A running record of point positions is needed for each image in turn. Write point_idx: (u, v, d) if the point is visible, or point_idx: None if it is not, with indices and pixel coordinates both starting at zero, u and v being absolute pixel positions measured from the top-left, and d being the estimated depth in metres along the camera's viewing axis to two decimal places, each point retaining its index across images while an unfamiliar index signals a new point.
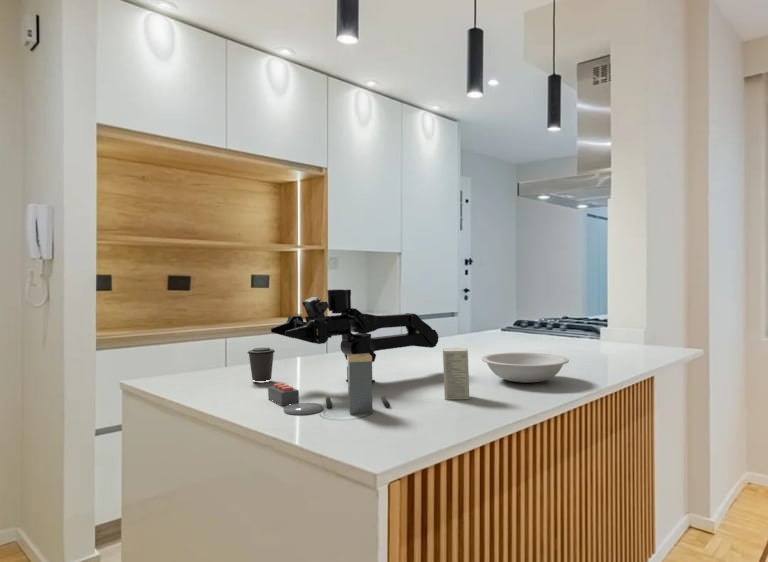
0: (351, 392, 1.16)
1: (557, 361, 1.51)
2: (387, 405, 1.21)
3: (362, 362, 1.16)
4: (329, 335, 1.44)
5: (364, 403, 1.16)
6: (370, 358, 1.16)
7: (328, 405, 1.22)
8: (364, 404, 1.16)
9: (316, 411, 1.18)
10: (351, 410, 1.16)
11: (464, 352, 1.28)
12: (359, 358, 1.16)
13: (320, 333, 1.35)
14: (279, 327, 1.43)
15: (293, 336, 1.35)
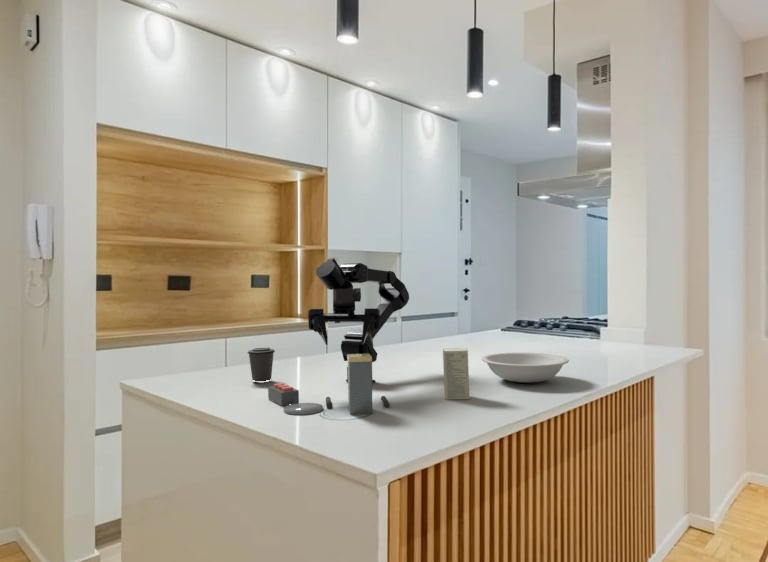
0: (351, 392, 1.16)
1: (557, 361, 1.51)
2: (387, 405, 1.21)
3: (362, 362, 1.16)
4: None
5: (364, 403, 1.16)
6: (370, 358, 1.16)
7: (328, 405, 1.22)
8: (364, 404, 1.16)
9: (316, 411, 1.18)
10: (351, 410, 1.16)
11: (464, 352, 1.28)
12: (359, 358, 1.16)
13: (379, 321, 1.39)
14: (326, 335, 1.33)
15: (365, 339, 1.35)
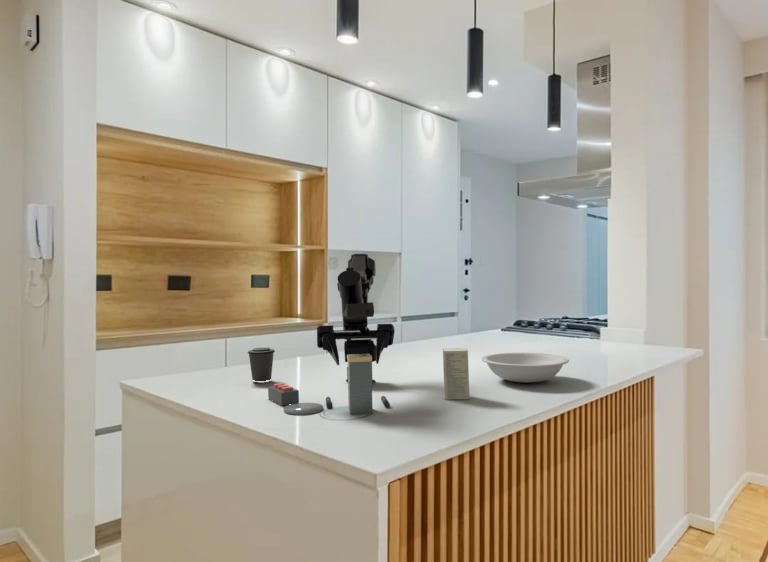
0: (351, 392, 1.16)
1: (557, 361, 1.51)
2: (387, 405, 1.21)
3: (362, 362, 1.16)
4: None
5: (364, 403, 1.16)
6: (370, 358, 1.16)
7: (328, 405, 1.22)
8: (364, 404, 1.16)
9: (316, 411, 1.18)
10: (351, 410, 1.16)
11: (464, 352, 1.28)
12: (359, 358, 1.16)
13: None
14: None
15: (379, 358, 1.25)
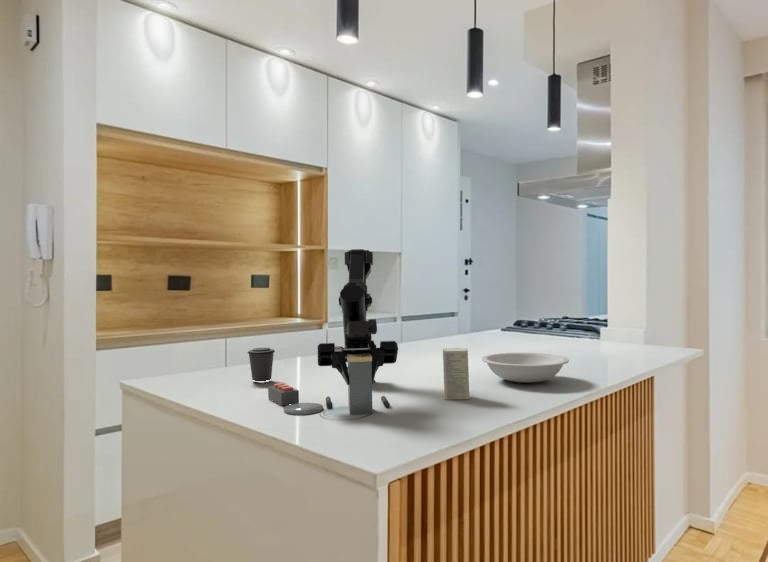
0: (351, 392, 1.16)
1: (557, 361, 1.51)
2: (387, 405, 1.21)
3: (362, 362, 1.16)
4: None
5: (364, 403, 1.16)
6: (370, 358, 1.16)
7: (328, 405, 1.22)
8: (364, 404, 1.16)
9: (316, 411, 1.18)
10: (351, 410, 1.16)
11: (464, 352, 1.28)
12: (359, 358, 1.16)
13: (396, 355, 1.24)
14: None
15: (374, 377, 1.20)
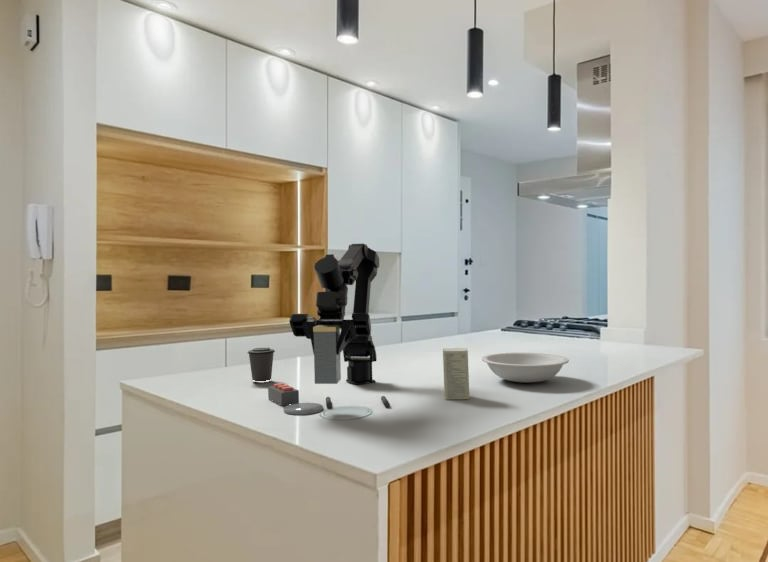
0: (315, 361, 1.17)
1: (557, 361, 1.51)
2: (387, 405, 1.21)
3: (326, 332, 1.17)
4: None
5: (328, 373, 1.17)
6: (334, 328, 1.16)
7: (328, 405, 1.22)
8: (329, 374, 1.17)
9: (316, 411, 1.18)
10: (316, 379, 1.17)
11: (464, 352, 1.28)
12: (323, 328, 1.17)
13: (369, 327, 1.22)
14: None
15: (342, 348, 1.19)
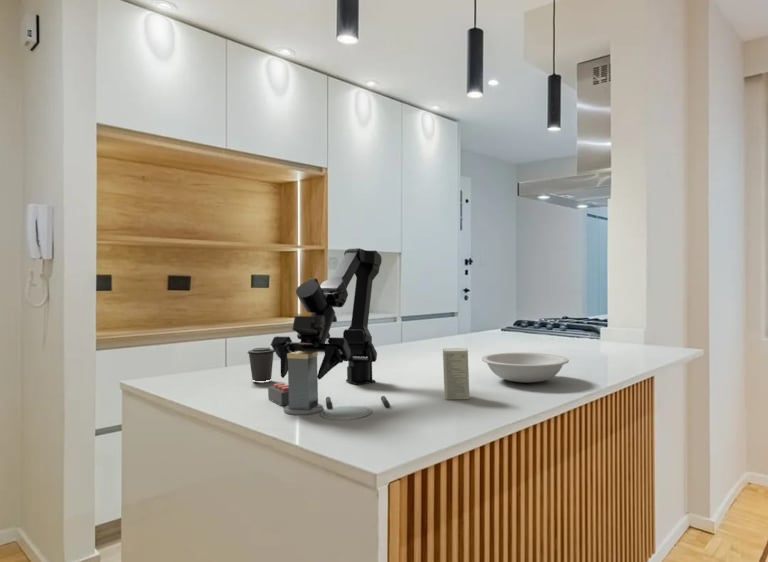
0: (290, 387, 1.19)
1: (557, 361, 1.51)
2: (387, 405, 1.21)
3: (299, 359, 1.18)
4: (328, 335, 1.30)
5: (301, 400, 1.18)
6: (306, 356, 1.18)
7: (328, 405, 1.22)
8: (301, 400, 1.18)
9: (316, 411, 1.18)
10: (290, 405, 1.19)
11: (464, 352, 1.28)
12: (296, 355, 1.18)
13: (346, 352, 1.22)
14: (284, 366, 1.22)
15: (325, 373, 1.20)
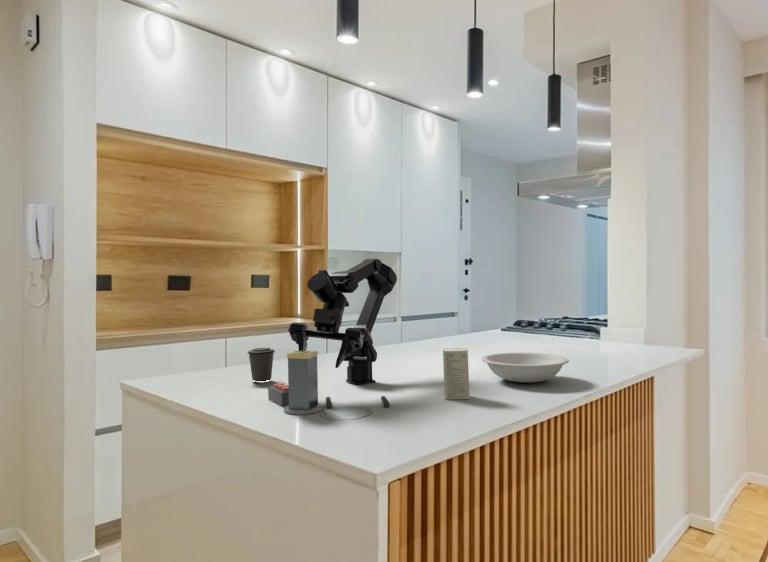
0: (290, 387, 1.19)
1: (557, 361, 1.51)
2: (387, 405, 1.21)
3: (299, 359, 1.18)
4: (340, 322, 1.39)
5: (301, 400, 1.18)
6: (306, 356, 1.18)
7: (328, 405, 1.22)
8: (301, 400, 1.18)
9: (316, 411, 1.18)
10: (290, 405, 1.19)
11: (464, 352, 1.28)
12: (296, 355, 1.18)
13: (360, 343, 1.33)
14: None
15: (341, 362, 1.31)
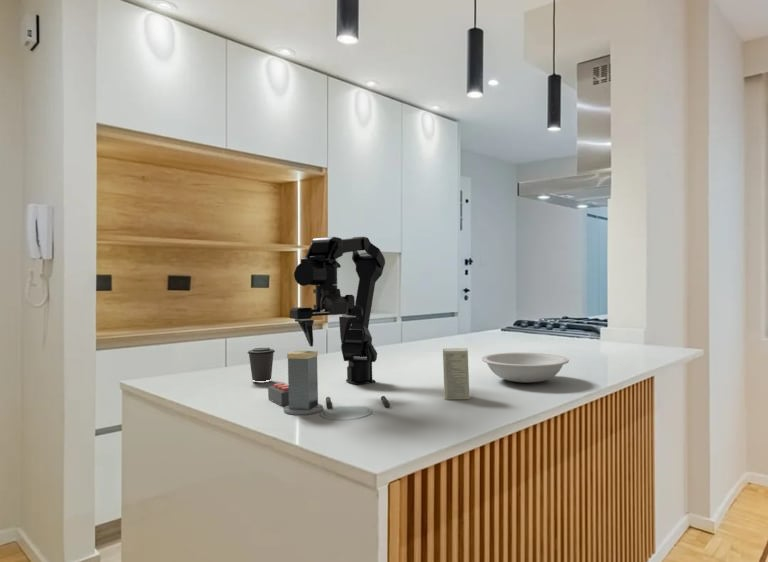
0: (290, 387, 1.19)
1: (557, 361, 1.51)
2: (387, 405, 1.21)
3: (299, 359, 1.18)
4: None
5: (301, 400, 1.18)
6: (306, 356, 1.18)
7: (328, 405, 1.22)
8: (301, 400, 1.18)
9: (316, 411, 1.18)
10: (290, 405, 1.19)
11: (464, 352, 1.28)
12: (296, 355, 1.18)
13: None
14: None
15: None
